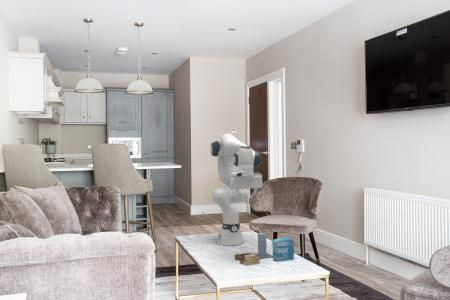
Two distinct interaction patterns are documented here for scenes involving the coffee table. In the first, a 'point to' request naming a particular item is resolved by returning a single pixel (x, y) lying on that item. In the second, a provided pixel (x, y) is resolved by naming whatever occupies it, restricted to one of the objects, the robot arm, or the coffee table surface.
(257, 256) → the felt mat
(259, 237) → the pale blue pillar
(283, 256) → the data package
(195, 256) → the coffee table surface
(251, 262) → the offcut stack
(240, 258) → the rack
